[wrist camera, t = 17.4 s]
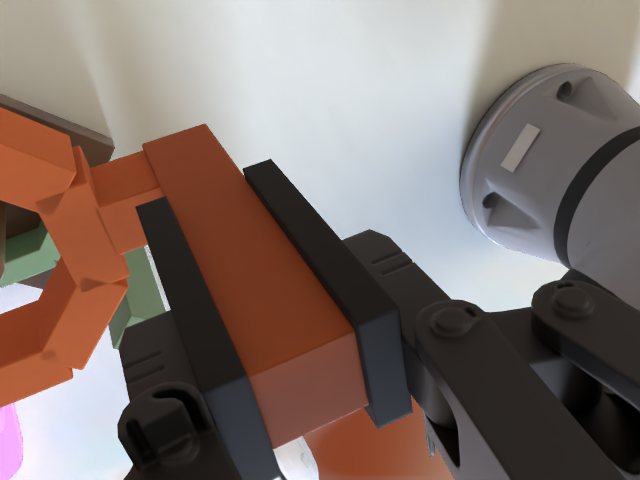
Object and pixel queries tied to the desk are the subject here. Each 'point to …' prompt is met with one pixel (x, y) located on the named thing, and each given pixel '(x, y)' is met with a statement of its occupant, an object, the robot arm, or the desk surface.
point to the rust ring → (211, 258)
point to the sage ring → (41, 255)
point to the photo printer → (296, 461)
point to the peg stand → (15, 220)
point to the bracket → (10, 442)
